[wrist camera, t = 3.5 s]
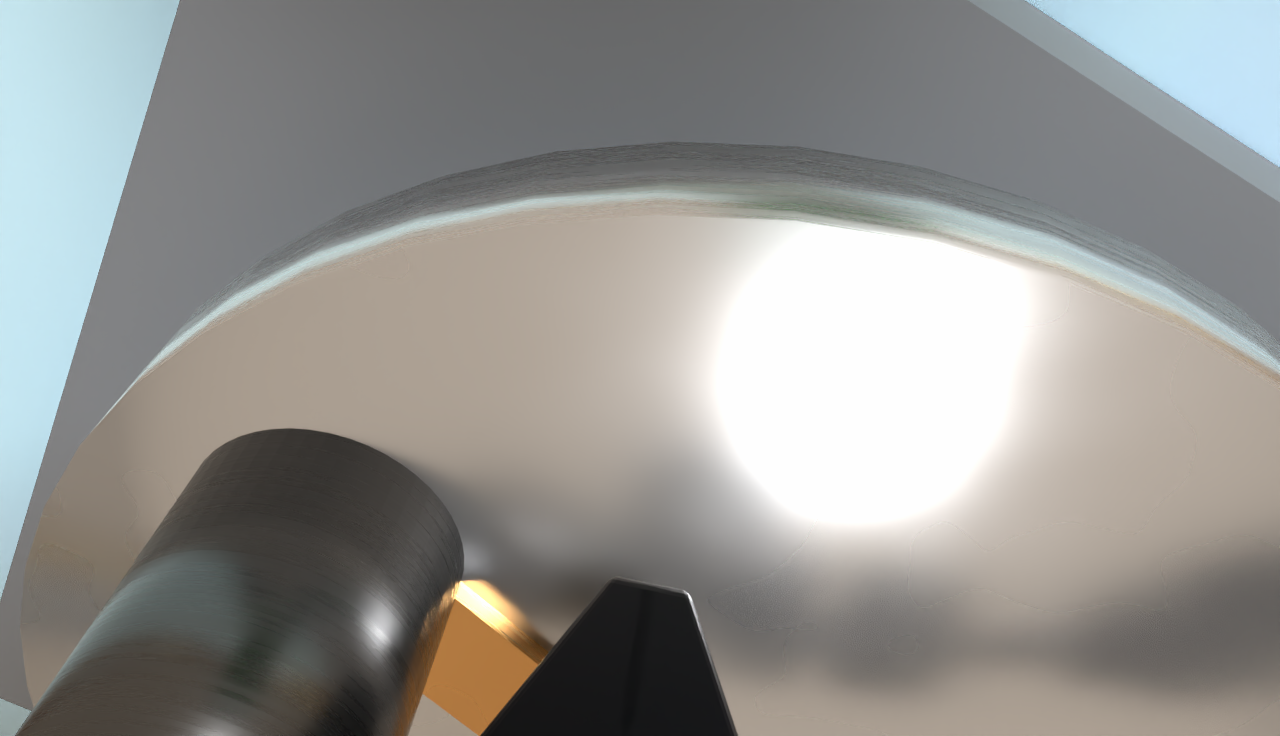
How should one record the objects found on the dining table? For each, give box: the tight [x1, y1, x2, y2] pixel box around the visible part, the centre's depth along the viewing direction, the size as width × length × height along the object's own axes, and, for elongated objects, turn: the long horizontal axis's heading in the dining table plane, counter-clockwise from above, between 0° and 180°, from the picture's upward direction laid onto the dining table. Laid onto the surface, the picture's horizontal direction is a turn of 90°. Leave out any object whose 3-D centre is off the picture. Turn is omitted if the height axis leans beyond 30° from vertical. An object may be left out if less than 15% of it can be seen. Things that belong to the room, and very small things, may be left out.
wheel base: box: [0, 0, 1280, 711], centre depth 14 cm, size 16×15×3 cm
